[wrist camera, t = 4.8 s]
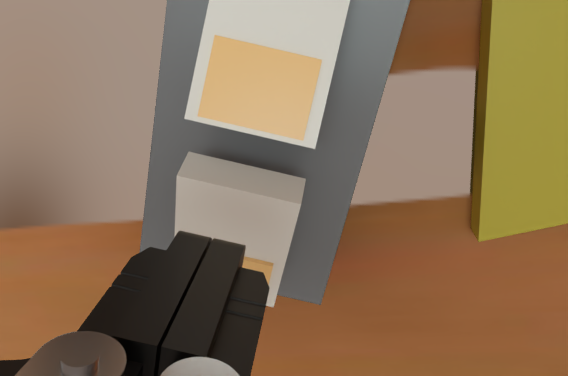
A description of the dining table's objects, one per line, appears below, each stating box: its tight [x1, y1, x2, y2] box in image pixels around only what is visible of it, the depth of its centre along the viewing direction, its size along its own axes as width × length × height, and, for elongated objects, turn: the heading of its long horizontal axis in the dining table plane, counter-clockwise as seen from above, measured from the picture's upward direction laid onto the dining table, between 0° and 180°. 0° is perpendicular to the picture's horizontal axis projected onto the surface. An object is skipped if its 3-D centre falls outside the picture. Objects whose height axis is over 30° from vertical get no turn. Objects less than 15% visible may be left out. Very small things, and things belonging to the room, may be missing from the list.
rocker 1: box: [184, 0, 350, 149], centre depth 19 cm, size 7×5×2 cm
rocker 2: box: [175, 152, 306, 307], centre depth 22 cm, size 7×5×2 cm
